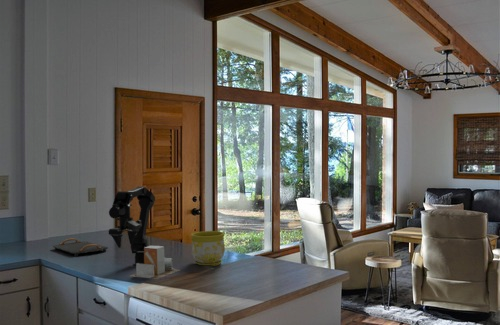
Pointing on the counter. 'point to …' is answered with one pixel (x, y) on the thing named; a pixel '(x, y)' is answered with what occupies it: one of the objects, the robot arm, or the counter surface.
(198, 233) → the flowerpot
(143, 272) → the bookends
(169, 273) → the shelf board
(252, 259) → the counter surface
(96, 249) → the serving board
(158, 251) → the small box
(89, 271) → the counter surface
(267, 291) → the counter surface
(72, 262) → the counter surface
